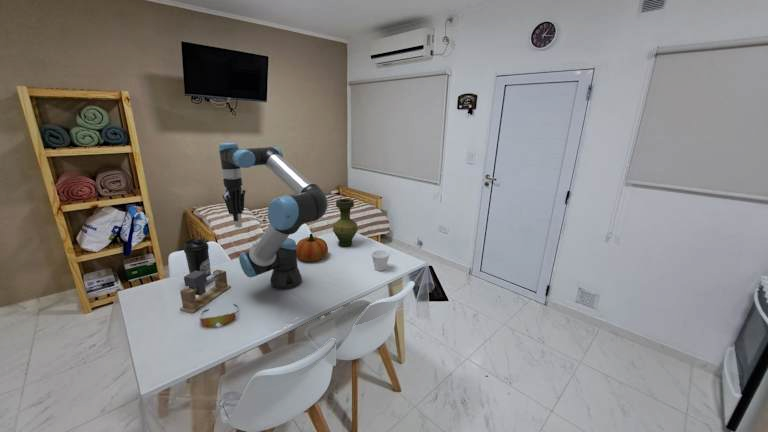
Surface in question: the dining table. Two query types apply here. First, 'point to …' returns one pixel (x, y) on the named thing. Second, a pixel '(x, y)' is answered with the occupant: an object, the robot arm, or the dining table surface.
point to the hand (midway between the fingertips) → (238, 226)
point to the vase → (345, 223)
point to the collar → (196, 281)
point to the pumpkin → (311, 249)
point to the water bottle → (197, 255)
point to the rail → (195, 304)
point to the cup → (380, 259)
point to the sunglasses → (218, 319)
